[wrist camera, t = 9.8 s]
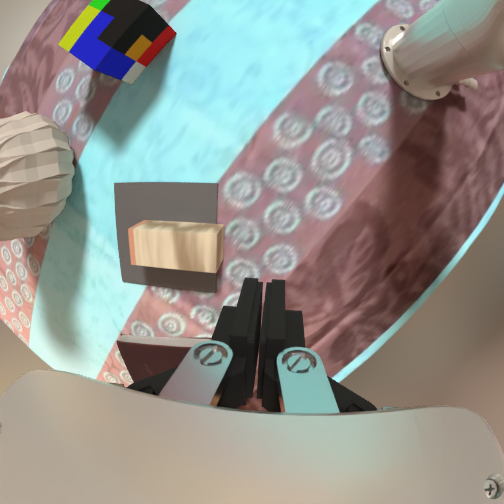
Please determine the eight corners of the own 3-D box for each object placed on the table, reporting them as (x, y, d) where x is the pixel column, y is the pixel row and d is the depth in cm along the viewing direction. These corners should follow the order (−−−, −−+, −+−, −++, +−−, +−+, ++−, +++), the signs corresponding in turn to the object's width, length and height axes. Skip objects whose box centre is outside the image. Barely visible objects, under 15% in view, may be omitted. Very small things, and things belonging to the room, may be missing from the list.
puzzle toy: (132, 84, 32) (94, 70, 22) (96, 59, 30) (58, 44, 21) (176, 33, 29) (149, 5, 19) (136, 11, 27) (105, -14, 18)
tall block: (216, 234, 33) (127, 229, 34) (216, 273, 35) (131, 264, 35) (224, 224, 38) (144, 220, 38) (223, 258, 39) (146, 252, 40)
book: (228, 386, 49) (226, 398, 46) (140, 379, 51) (135, 389, 48) (218, 335, 45) (215, 347, 42) (121, 331, 47) (114, 341, 44)
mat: (217, 183, 36) (217, 183, 36) (216, 291, 41) (215, 292, 41) (115, 182, 37) (114, 183, 37) (123, 280, 42) (122, 281, 42)
